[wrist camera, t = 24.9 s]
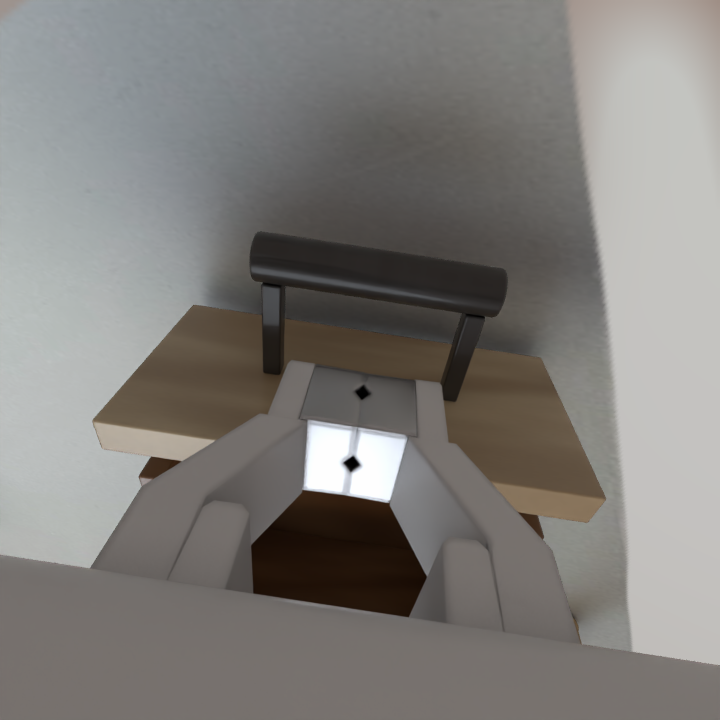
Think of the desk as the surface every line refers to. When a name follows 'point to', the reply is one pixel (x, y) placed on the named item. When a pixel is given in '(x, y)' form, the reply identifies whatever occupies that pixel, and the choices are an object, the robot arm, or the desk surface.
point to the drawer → (365, 354)
